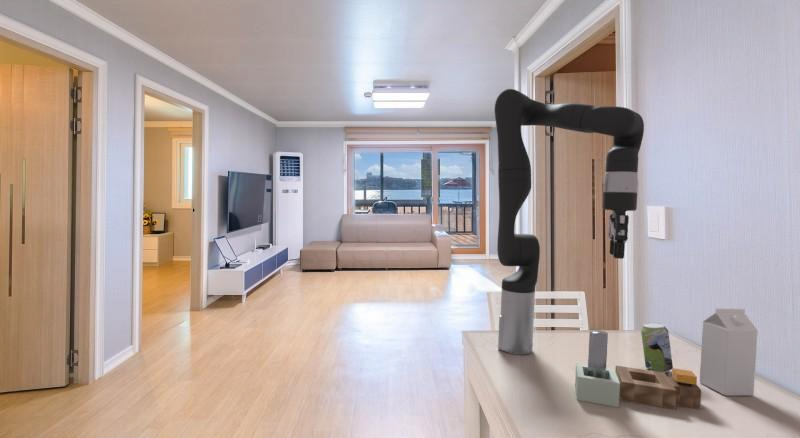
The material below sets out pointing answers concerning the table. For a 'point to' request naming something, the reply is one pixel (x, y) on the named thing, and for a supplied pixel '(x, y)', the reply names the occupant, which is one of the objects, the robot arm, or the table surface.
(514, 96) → the robot arm
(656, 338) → the beverage can
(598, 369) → the peg
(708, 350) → the milk carton
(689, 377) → the orange square-headed peg
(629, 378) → the socket block
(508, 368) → the table surface
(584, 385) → the rack
